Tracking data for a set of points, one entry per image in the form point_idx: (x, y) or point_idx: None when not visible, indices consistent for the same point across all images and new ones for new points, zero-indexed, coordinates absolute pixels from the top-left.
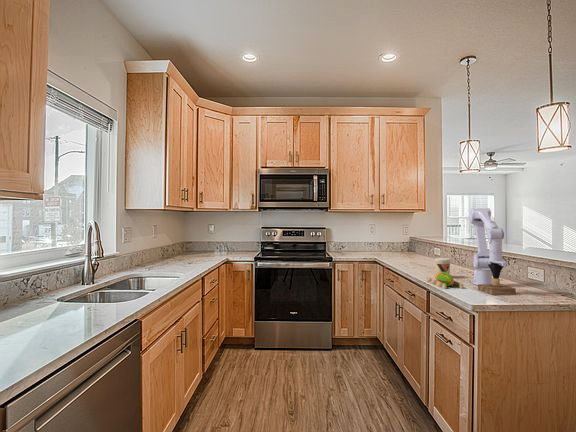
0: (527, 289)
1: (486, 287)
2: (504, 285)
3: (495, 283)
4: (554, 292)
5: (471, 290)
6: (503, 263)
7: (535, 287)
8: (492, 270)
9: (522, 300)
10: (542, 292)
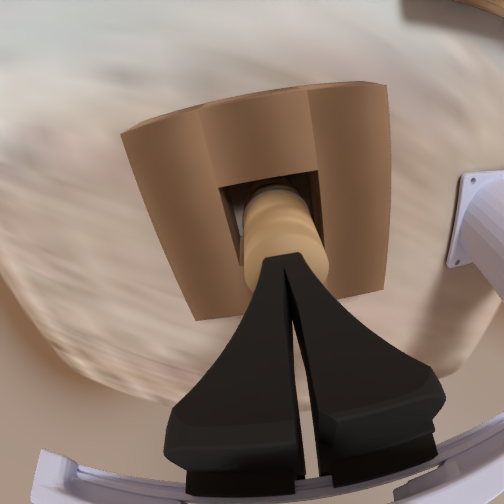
0: None
1: (214, 106)
2: None
3: (247, 224)
4: None
5: (332, 12)
6: (38, 486)
7: None
8: (302, 329)
9: (49, 260)
10: None
